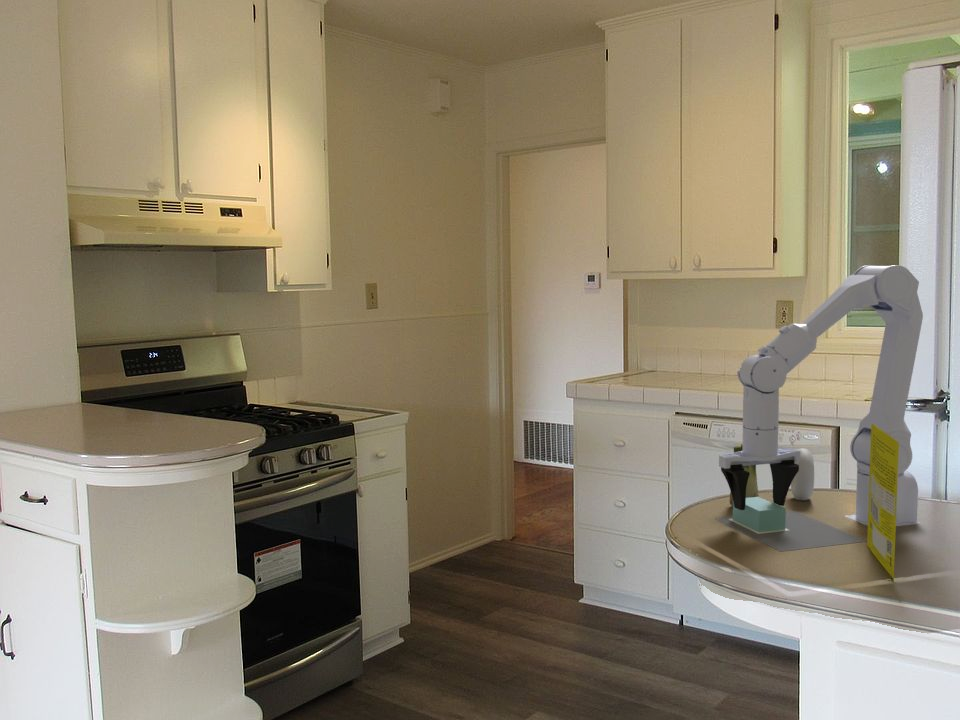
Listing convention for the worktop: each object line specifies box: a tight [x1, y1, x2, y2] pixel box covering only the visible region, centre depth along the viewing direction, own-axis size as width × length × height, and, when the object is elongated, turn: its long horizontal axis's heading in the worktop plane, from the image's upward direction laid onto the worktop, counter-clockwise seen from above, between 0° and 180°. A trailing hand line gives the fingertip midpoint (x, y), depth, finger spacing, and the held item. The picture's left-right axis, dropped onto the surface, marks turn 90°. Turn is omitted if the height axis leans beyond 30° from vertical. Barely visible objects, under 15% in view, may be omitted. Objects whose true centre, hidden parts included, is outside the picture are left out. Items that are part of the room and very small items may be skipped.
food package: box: [866, 424, 899, 584], centre depth 135 cm, size 15×1×20 cm, turn 170°
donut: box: [790, 447, 815, 502], centre depth 172 cm, size 10×3×10 cm, turn 168°
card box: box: [732, 496, 787, 532], centre depth 155 cm, size 8×5×4 cm, turn 16°
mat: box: [715, 510, 867, 552], centre depth 152 cm, size 16×19×1 cm
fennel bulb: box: [729, 443, 759, 507], centre depth 167 cm, size 6×5×12 cm
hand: (759, 506), depth 155 cm, fingers open, 7 cm apart
